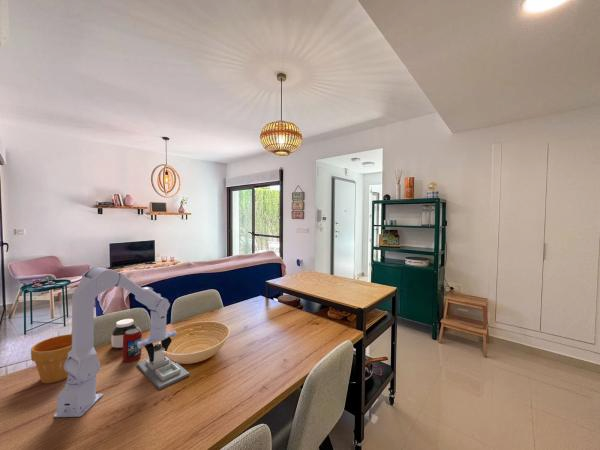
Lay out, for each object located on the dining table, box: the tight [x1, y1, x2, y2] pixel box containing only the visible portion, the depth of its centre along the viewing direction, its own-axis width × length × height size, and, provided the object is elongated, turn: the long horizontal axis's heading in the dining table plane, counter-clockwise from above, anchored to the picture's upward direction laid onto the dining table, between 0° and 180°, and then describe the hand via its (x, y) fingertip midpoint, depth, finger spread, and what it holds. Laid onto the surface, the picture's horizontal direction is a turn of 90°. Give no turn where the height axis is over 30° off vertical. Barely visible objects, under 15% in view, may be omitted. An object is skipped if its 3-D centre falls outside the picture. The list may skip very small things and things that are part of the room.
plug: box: [150, 343, 165, 365], centre depth 103 cm, size 4×4×8 cm
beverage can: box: [122, 327, 143, 362], centre depth 107 cm, size 7×7×12 cm
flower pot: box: [30, 333, 72, 384], centre depth 94 cm, size 14×14×13 cm
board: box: [136, 356, 190, 390], centre depth 99 cm, size 22×11×2 cm, turn 51°
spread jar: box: [110, 318, 142, 350], centre depth 119 cm, size 12×11×12 cm
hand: (157, 358), depth 103 cm, fingers closed on plug, 4 cm apart
